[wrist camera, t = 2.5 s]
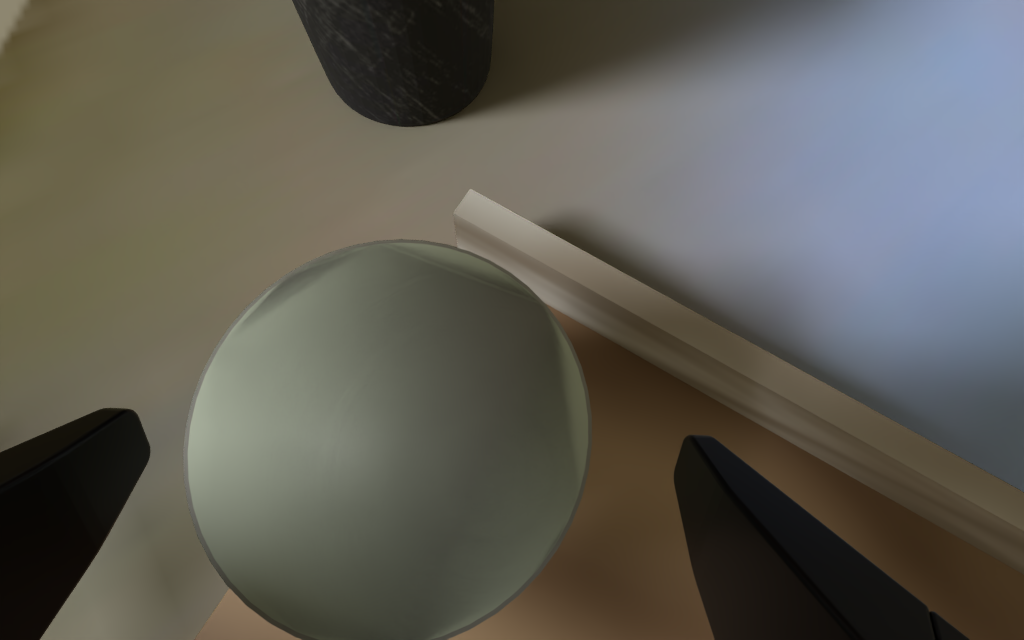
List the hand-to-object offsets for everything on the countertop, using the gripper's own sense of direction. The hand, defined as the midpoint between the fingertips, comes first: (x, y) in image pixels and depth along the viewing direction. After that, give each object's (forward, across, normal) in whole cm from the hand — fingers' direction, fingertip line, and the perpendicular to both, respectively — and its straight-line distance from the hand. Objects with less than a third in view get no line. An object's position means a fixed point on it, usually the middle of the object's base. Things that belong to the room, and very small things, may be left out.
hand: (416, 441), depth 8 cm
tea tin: (+6, 0, +6) cm, 8 cm away
